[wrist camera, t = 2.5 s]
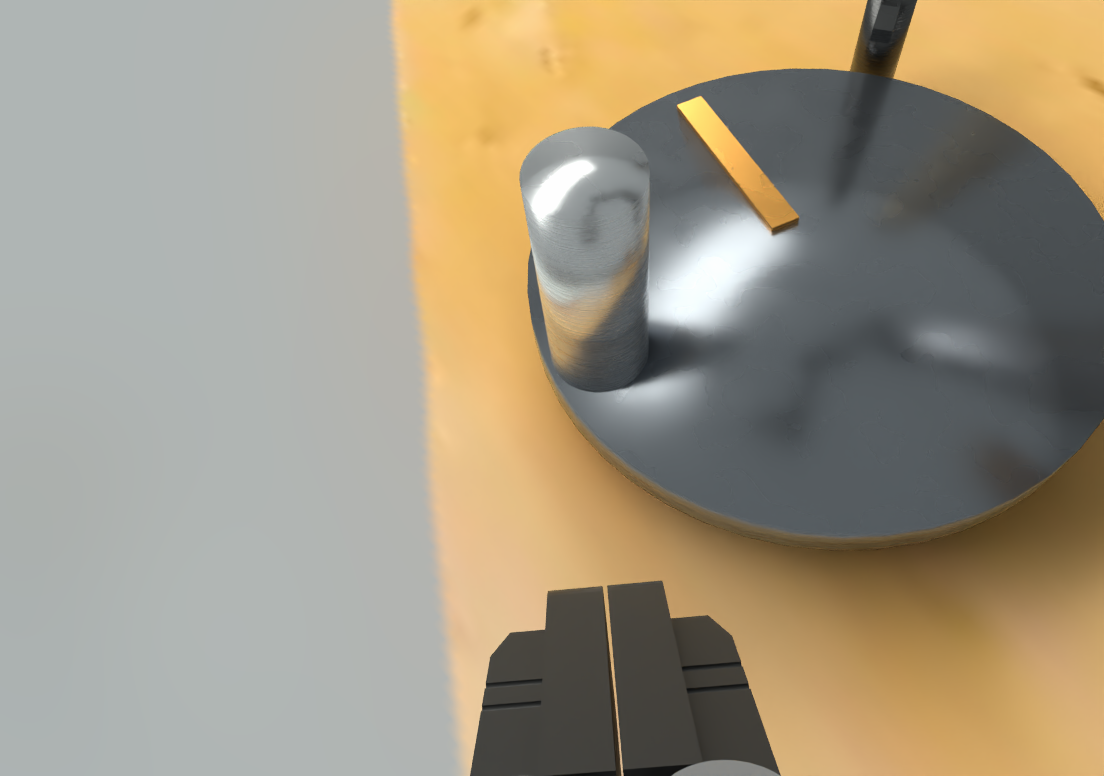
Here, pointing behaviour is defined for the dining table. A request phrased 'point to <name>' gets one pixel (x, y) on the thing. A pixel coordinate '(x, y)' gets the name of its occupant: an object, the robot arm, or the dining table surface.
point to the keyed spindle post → (882, 36)
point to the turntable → (818, 305)
